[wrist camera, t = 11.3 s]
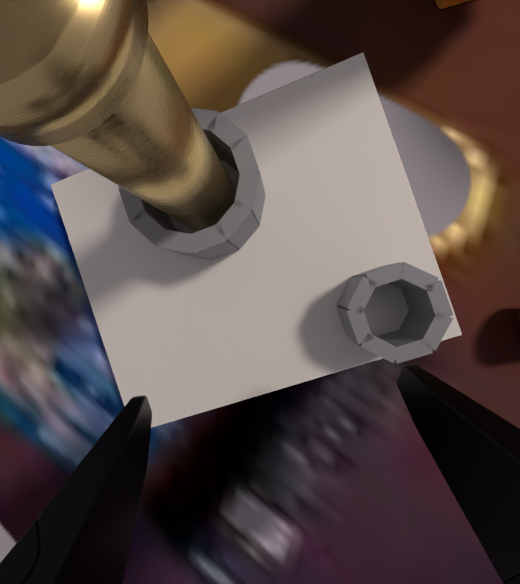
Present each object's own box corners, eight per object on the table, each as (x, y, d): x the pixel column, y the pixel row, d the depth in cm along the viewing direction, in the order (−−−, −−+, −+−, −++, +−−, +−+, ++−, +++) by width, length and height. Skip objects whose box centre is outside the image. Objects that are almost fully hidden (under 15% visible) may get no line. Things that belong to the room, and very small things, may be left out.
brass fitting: (239, 242, 17) (94, 119, 5) (168, 235, 18) (-144, 103, 5) (248, 167, 17) (124, -186, 4) (176, 161, 18) (-126, -169, 5)
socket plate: (447, 330, 18) (509, 348, 13) (144, 422, 20) (97, 467, 15) (357, 71, 18) (383, -11, 13) (68, 192, 20) (-4, 161, 15)
